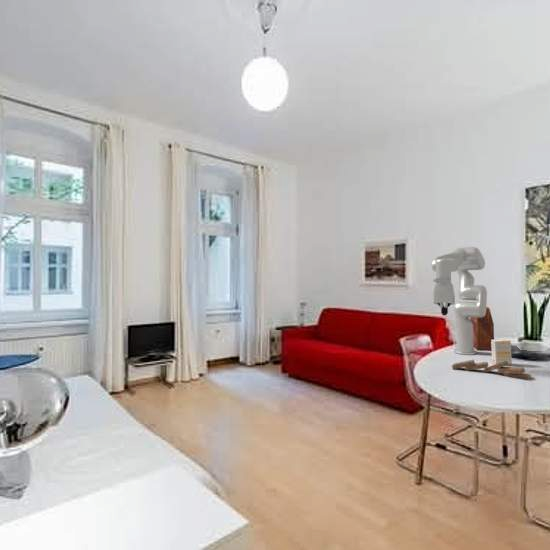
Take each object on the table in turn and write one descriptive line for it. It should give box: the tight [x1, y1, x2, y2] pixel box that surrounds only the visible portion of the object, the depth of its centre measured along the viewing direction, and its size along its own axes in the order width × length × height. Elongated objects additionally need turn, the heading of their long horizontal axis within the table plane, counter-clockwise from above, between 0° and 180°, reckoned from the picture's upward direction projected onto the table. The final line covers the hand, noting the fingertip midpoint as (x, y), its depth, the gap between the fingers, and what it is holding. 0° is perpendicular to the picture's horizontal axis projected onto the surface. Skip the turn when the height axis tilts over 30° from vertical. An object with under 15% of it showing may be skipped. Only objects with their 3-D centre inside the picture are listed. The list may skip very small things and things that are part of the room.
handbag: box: [469, 306, 495, 351], centre depth 254 cm, size 10×19×35 cm, turn 163°
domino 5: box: [503, 372, 532, 380], centre depth 184 cm, size 2×5×10 cm
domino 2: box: [464, 361, 490, 372], centre depth 196 cm, size 2×5×10 cm
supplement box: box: [491, 339, 513, 366], centre depth 208 cm, size 8×5×13 cm, turn 84°
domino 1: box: [451, 359, 476, 370], centre depth 200 cm, size 2×5×10 cm
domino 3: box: [483, 361, 510, 373], centre depth 191 cm, size 2×5×10 cm
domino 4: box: [496, 366, 526, 374], centre depth 185 cm, size 2×5×10 cm
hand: (444, 314), depth 211 cm, fingers closed
